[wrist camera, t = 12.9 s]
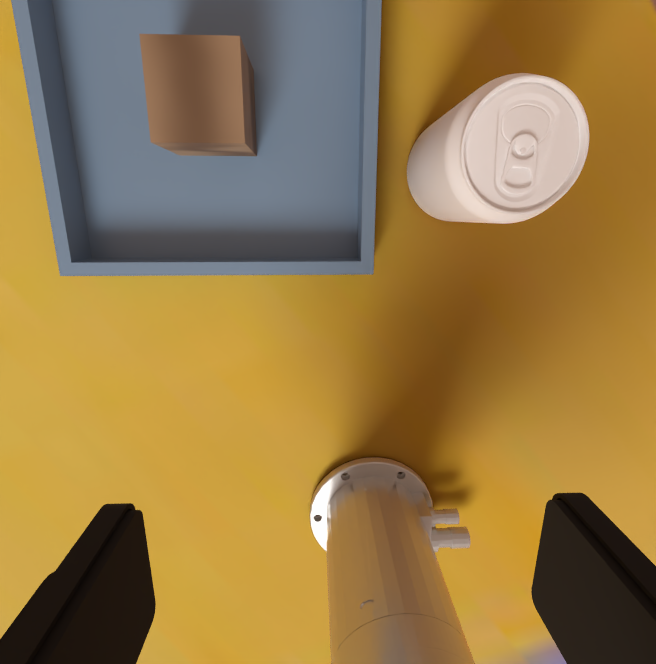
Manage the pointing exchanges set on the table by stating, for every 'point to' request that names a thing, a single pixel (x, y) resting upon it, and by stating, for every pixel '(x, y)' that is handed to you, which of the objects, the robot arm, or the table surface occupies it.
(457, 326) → the table surface
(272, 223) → the slate tray
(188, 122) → the walnut block
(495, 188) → the beverage can
